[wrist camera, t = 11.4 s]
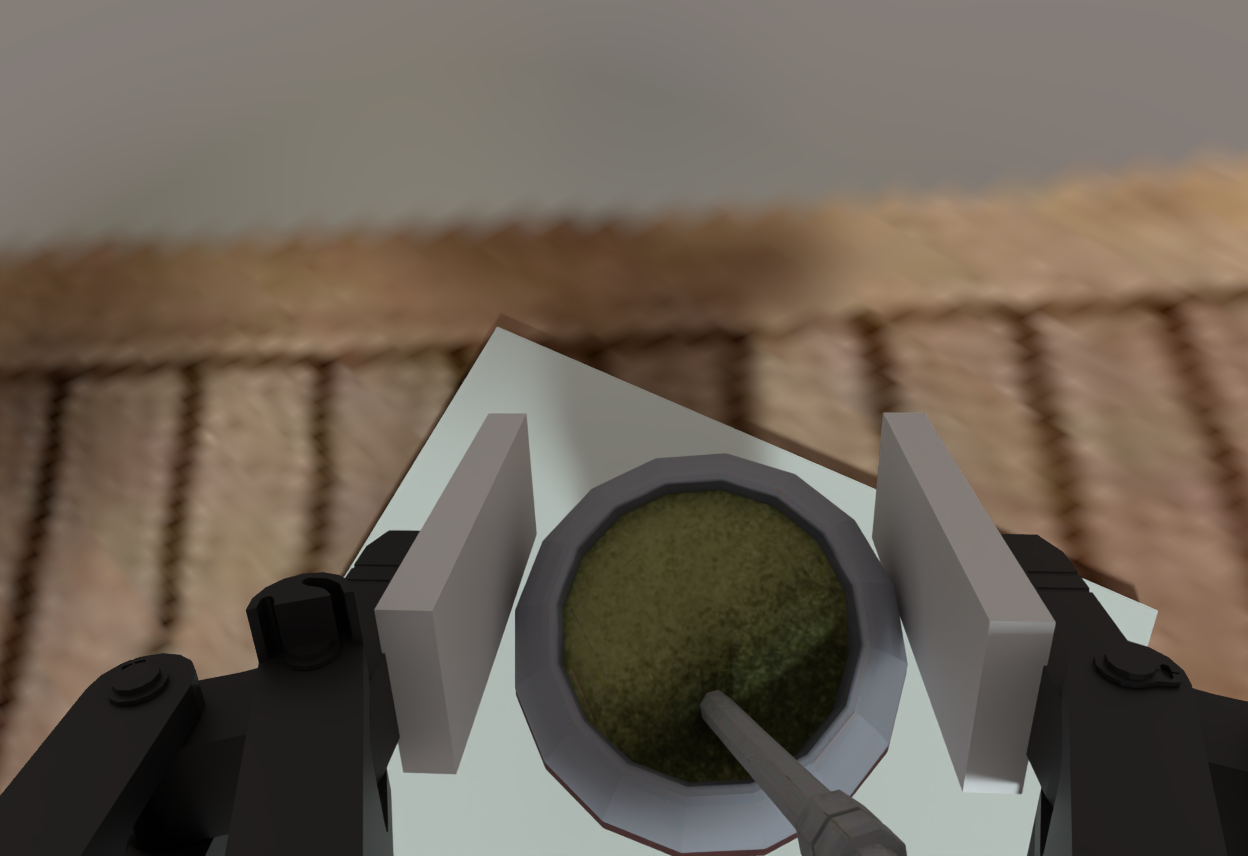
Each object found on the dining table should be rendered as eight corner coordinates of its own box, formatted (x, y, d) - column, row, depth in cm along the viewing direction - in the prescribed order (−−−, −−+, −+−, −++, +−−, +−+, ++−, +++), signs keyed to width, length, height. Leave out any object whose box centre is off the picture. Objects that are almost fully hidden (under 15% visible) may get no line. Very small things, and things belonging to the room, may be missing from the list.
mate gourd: (617, 501, 23) (485, 69, 9) (920, 599, 21) (1338, 260, 7) (509, 791, 20) (90, 827, 6) (841, 926, 19) (1244, 1363, 5)
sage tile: (237, 774, 26) (223, 774, 25) (502, 337, 30) (497, 326, 30) (962, 1222, 21) (972, 1240, 20) (1144, 615, 25) (1158, 610, 25)
